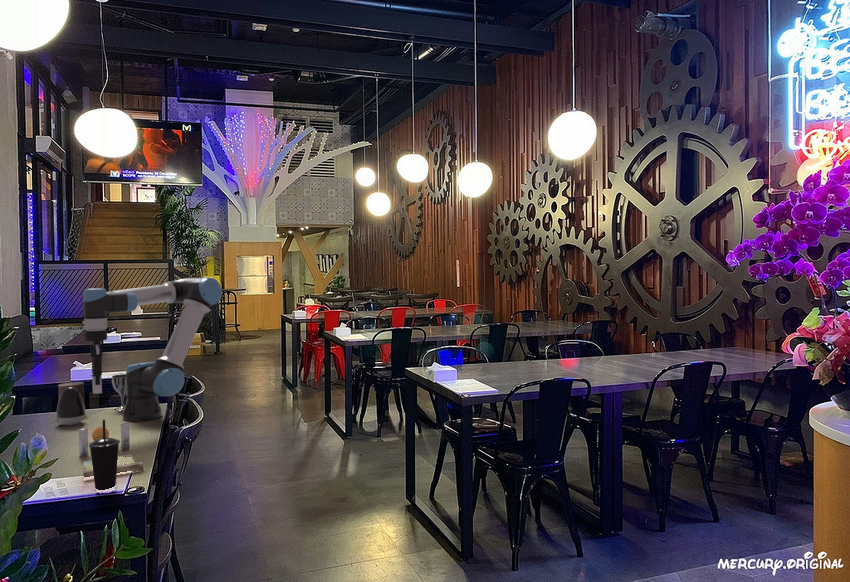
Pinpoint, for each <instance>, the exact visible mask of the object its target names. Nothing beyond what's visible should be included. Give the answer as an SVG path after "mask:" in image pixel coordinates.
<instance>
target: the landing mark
mask: <svg viewBox="0 0 850 582" xmlns="http://www.w3.org/2000/svg"><path fill="white" fill-rule="evenodd" d="M121 455H122V456H123V457H125V458H126V457H131V456H132V454H131V453H127V454H121ZM121 455H118V456H119V457H120V456H121ZM122 456H121V457H122ZM82 463H83V467H85V465H86V464H87V465H88V464H90V463H92V459H88V460H83V461H82ZM87 465H86V466H87Z"/></svg>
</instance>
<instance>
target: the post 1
mask: <svg viewBox="0 0 850 582" xmlns="http://www.w3.org/2000/svg"><path fill="white" fill-rule="evenodd" d="M88 432H89V430H88V428H87V427H85V428H84V427H83V428H79V429H78V445H79V446H78V450H79V451H78V455H79V458H85V457H88V456H89V433H88Z"/></svg>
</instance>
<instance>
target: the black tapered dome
mask: <svg viewBox="0 0 850 582" xmlns="http://www.w3.org/2000/svg"><path fill="white" fill-rule="evenodd" d="M79 392H81V390H80V389H79V390H77V389H76V388H75V387H67V388H66V389H64V391H63V392H62V394H61V396H60V399H59V398H58V403H57V407H56V418H57V420H58V422H59V424H61V425H62V426H67V425H68V426H74V425H78V424H80V423H81V422H82V421H83V420H84V418H85V415H86V406H85V407H84V403H85V402H84V403H83V400H82V397H81V395H80V393H79Z"/></svg>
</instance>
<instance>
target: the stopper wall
mask: <svg viewBox="0 0 850 582" xmlns="http://www.w3.org/2000/svg"><path fill="white" fill-rule="evenodd" d="M127 471H133V472H136V471H143V472H144V462H143V461H138V462H135V463H131V464H124V465H118V466H117V473H120V472H127ZM82 472H83V475H82V477H83V476H84V477H90V476H94V474H93V470H86V471H85V470H83V471H82Z"/></svg>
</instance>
